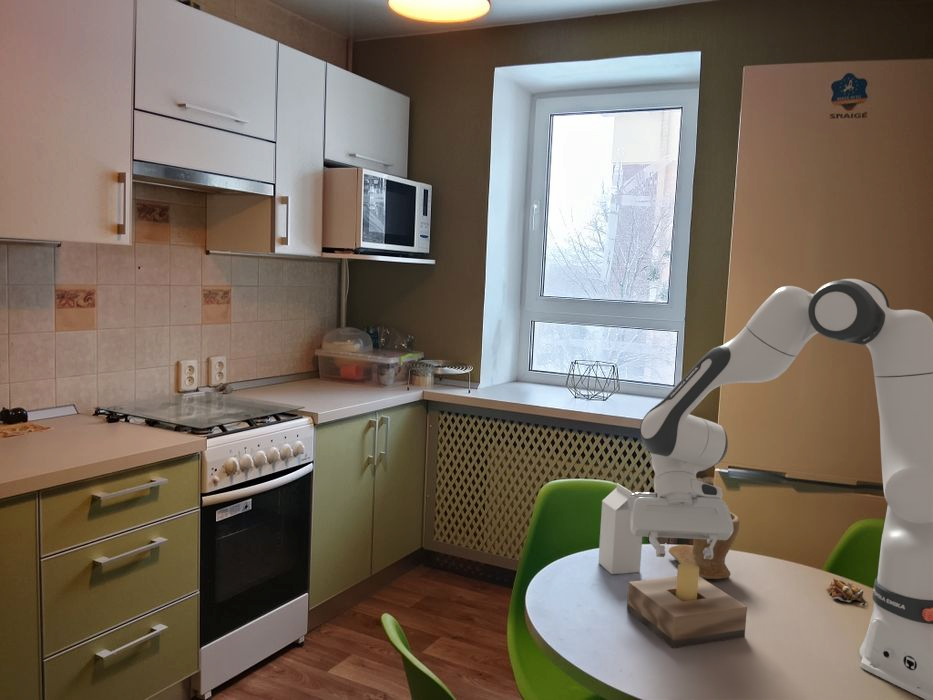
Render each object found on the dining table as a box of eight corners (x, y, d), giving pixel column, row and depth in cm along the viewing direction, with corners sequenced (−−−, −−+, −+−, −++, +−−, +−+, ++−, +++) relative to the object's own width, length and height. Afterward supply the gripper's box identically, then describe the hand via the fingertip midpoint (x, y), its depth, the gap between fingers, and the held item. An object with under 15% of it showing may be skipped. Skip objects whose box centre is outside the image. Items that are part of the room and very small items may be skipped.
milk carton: (611, 575, 178) (616, 492, 176) (598, 563, 185) (602, 483, 182) (640, 572, 180) (645, 491, 178) (625, 561, 187) (631, 482, 184)
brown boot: (744, 582, 177) (750, 517, 175) (694, 584, 175) (699, 518, 173) (713, 556, 192) (718, 496, 190) (666, 558, 190) (671, 497, 188)
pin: (699, 619, 154) (703, 569, 153) (682, 621, 153) (686, 571, 152) (687, 610, 158) (691, 562, 157) (670, 612, 157) (673, 564, 155)
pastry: (851, 585, 179) (852, 570, 178) (869, 608, 167) (870, 592, 166) (818, 582, 180) (820, 567, 179) (834, 604, 168) (835, 588, 168)
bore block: (744, 636, 151) (747, 606, 150) (672, 648, 145) (675, 616, 145) (693, 601, 166) (695, 573, 165) (626, 610, 160) (628, 581, 160)
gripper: (629, 484, 163) (634, 547, 155) (729, 489, 163) (740, 552, 154) (624, 499, 168) (629, 560, 160) (721, 503, 168) (732, 565, 159)
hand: (685, 556), depth 157 cm, fingers open, 8 cm apart
